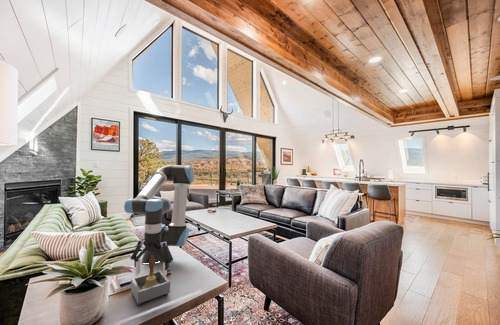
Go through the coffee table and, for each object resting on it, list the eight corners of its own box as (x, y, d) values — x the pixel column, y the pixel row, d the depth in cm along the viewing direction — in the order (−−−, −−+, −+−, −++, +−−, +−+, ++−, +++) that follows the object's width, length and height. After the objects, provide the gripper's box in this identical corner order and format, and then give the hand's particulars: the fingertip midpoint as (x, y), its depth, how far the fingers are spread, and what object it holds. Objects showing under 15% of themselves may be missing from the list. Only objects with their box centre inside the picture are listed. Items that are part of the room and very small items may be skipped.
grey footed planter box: (130, 292, 102) (131, 278, 102) (160, 283, 111) (160, 270, 111) (137, 308, 92) (138, 292, 92) (169, 296, 101) (170, 281, 101)
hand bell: (140, 286, 103) (142, 253, 103) (159, 282, 107) (160, 251, 107) (140, 295, 96) (142, 260, 96) (160, 291, 100) (162, 257, 100)
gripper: (123, 232, 99) (121, 276, 99) (174, 235, 97) (172, 281, 97) (133, 227, 106) (131, 268, 106) (181, 230, 105) (179, 273, 104)
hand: (151, 275), depth 102 cm, fingers open, 13 cm apart
